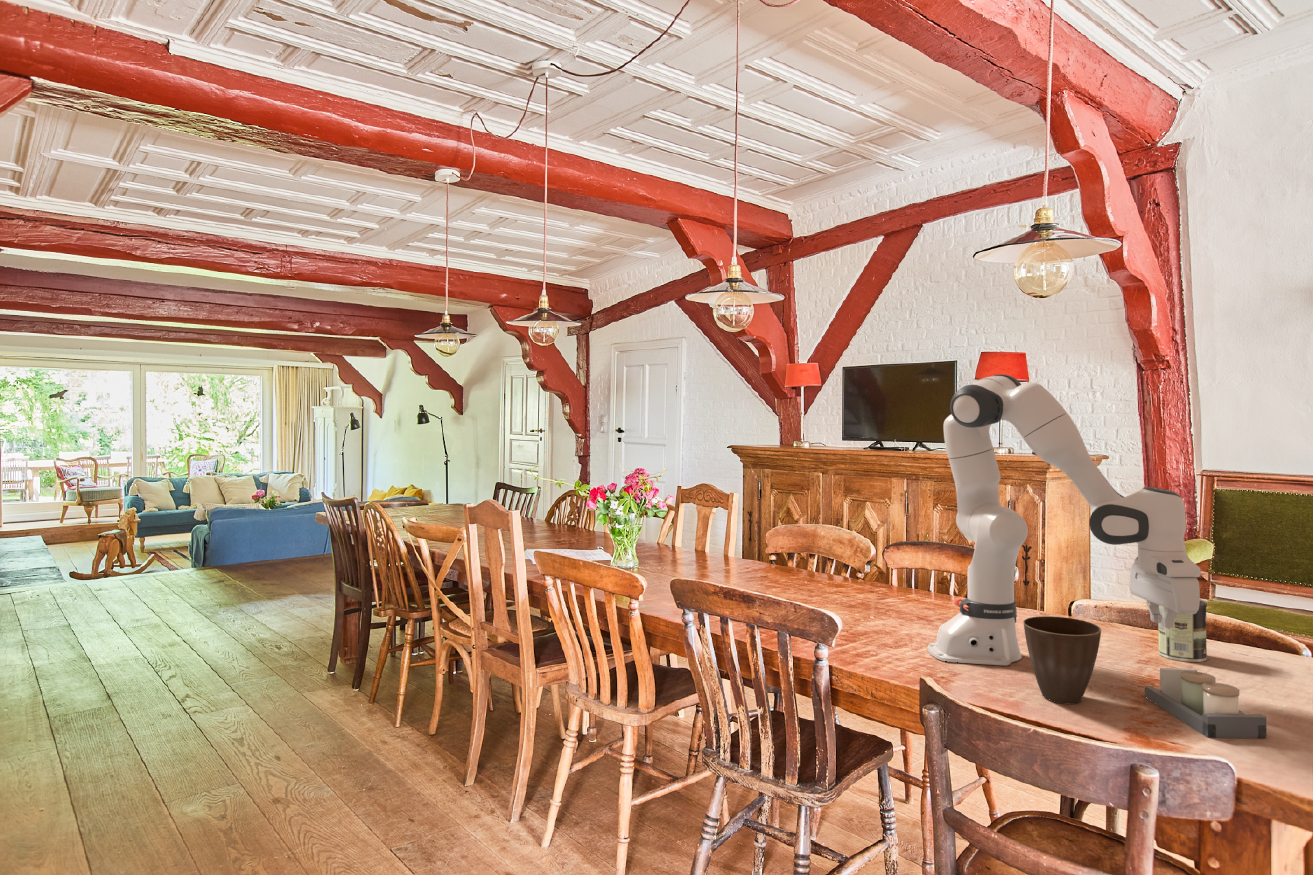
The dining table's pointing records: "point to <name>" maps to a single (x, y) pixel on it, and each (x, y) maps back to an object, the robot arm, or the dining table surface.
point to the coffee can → (1184, 636)
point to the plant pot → (1062, 655)
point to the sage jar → (1194, 689)
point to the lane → (1211, 719)
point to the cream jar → (1220, 698)
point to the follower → (1172, 682)
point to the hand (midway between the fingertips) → (1161, 624)
